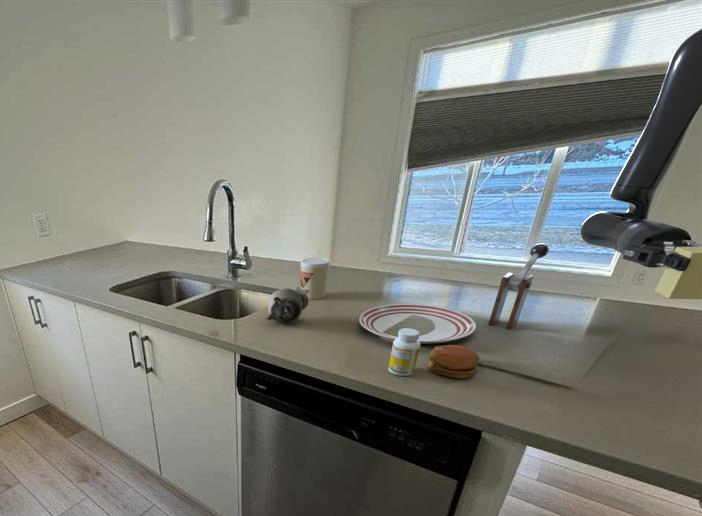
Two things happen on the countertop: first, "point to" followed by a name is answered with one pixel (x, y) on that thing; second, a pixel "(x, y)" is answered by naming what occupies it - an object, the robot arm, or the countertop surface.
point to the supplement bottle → (404, 352)
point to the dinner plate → (445, 320)
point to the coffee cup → (314, 277)
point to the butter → (683, 277)
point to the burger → (453, 361)
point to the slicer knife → (528, 266)
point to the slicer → (517, 305)
